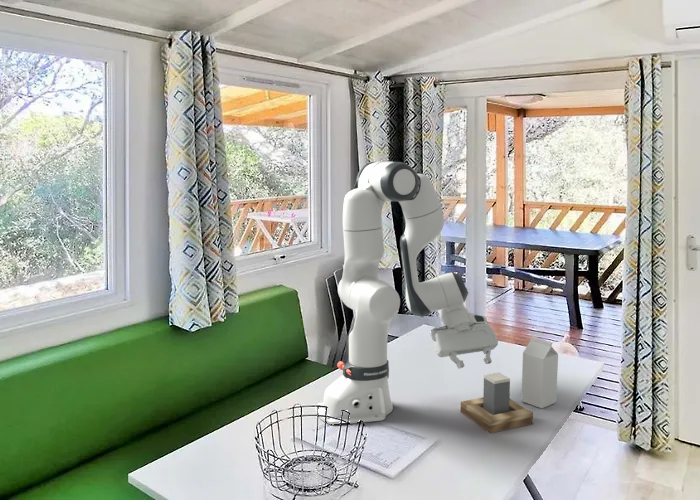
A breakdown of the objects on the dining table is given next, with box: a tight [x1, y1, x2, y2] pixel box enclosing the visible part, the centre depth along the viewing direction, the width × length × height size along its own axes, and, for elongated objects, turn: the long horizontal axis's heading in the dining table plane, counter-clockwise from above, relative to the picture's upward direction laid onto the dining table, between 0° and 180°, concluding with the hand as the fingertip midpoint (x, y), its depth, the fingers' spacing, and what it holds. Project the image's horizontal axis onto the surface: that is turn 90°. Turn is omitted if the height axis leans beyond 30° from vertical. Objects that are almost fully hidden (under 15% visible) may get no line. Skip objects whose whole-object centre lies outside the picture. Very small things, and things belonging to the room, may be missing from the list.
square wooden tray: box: [460, 397, 534, 434], centre depth 159 cm, size 14×14×3 cm
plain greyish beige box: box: [482, 372, 511, 415], centre depth 158 cm, size 5×5×10 cm
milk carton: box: [521, 337, 559, 409], centre depth 168 cm, size 7×7×19 cm
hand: (475, 365), depth 169 cm, fingers open, 8 cm apart
